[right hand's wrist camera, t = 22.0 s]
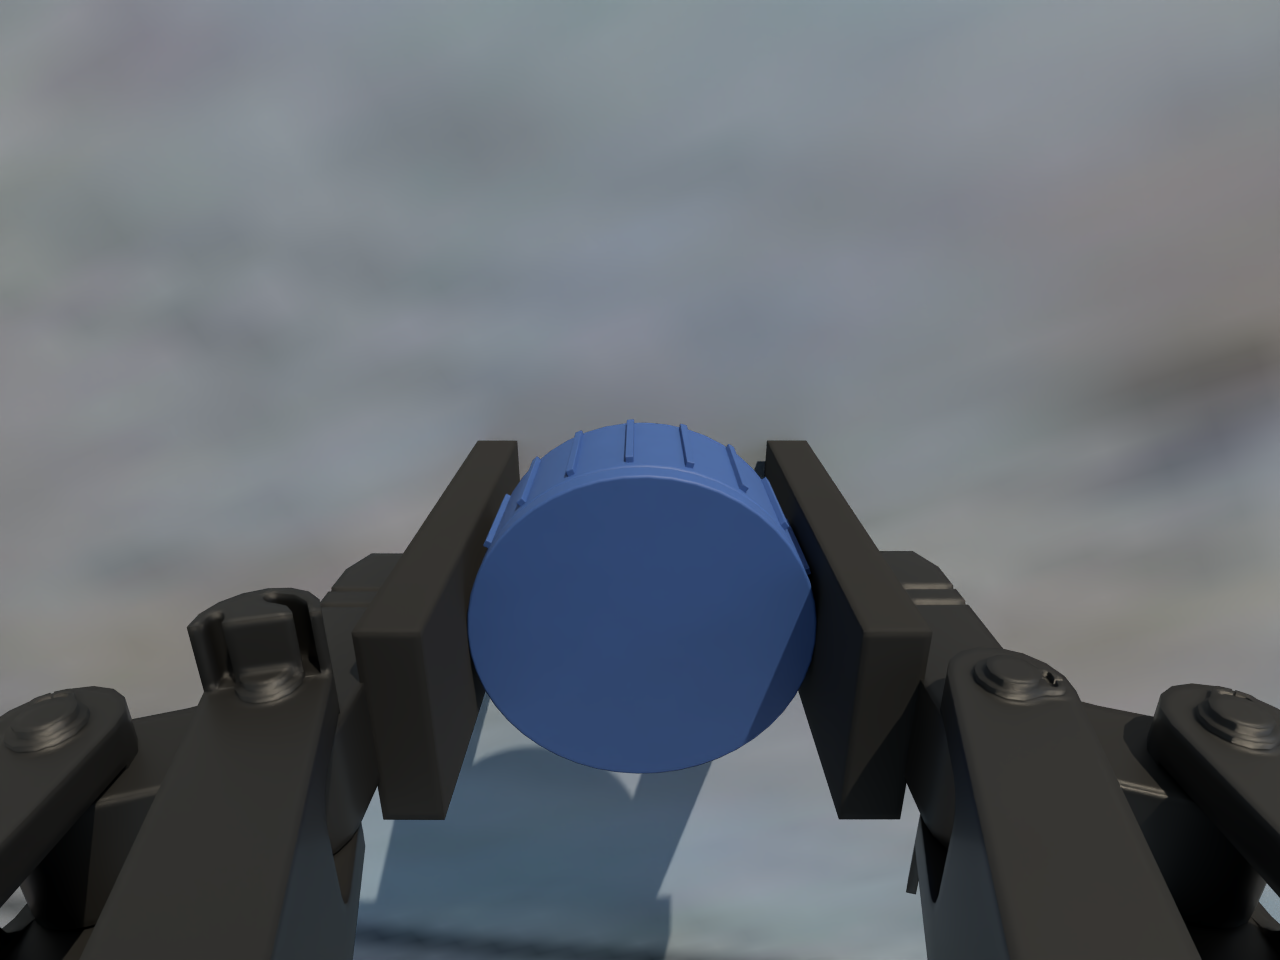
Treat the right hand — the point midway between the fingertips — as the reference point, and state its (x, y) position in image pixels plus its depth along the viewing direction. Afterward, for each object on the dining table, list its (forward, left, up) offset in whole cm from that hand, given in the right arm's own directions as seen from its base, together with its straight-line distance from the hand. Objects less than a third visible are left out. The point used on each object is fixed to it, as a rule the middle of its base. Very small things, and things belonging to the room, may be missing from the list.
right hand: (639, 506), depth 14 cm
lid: (0, 0, +4) cm, 4 cm away
